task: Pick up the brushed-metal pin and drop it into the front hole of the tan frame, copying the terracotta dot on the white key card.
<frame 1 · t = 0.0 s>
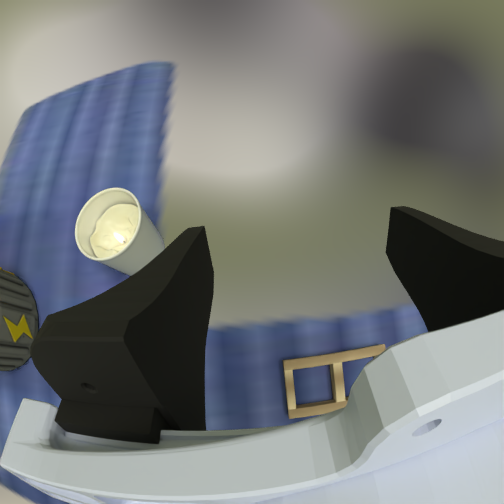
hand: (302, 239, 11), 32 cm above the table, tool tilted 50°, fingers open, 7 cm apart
candle holder: (141, 252, 47), on the table
decorative lamp: (11, 323, 44), on the table
tan frame: (335, 380, 39), on the table
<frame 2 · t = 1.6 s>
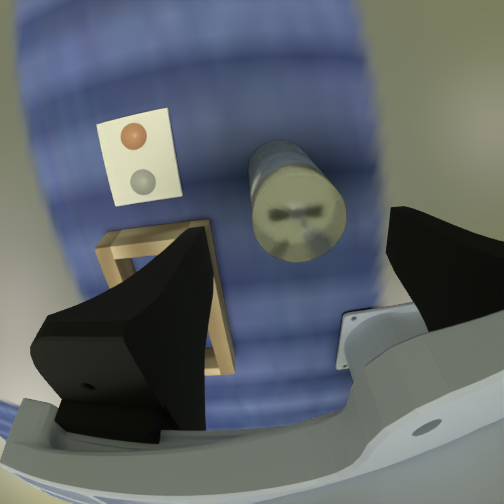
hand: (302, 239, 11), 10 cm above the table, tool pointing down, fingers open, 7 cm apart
key card: (139, 158, 19), on the table
tan frame: (176, 301, 25), on the table
pin: (278, 169, 20), on the table
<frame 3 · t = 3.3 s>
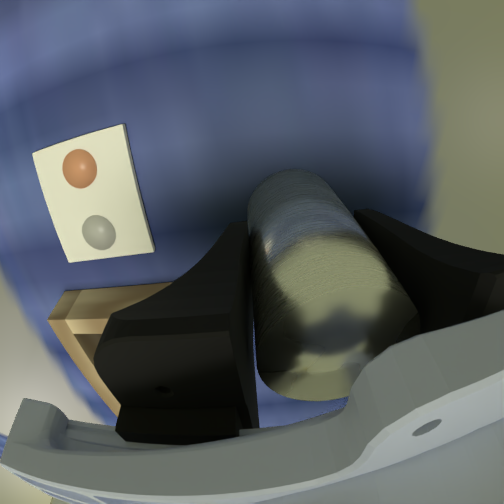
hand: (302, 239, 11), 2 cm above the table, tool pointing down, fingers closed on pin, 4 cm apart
key card: (91, 199, 13), on the table
tan frame: (160, 369, 19), on the table
pin: (292, 212, 13), on the table, touching gripper
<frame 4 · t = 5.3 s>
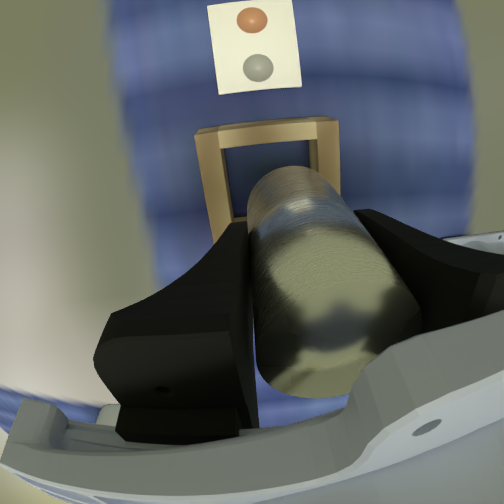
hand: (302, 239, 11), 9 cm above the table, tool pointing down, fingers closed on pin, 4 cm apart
candle holder: (128, 417, 36), on the table
key card: (254, 44, 15), on the table
tan frame: (273, 221, 21), on the table
pin: (292, 209, 13), point 7 cm above the table, touching gripper
when the fingers open (4 cm above the table, at t = 7.2 s): pin drops 1 cm, resting in tan frame.
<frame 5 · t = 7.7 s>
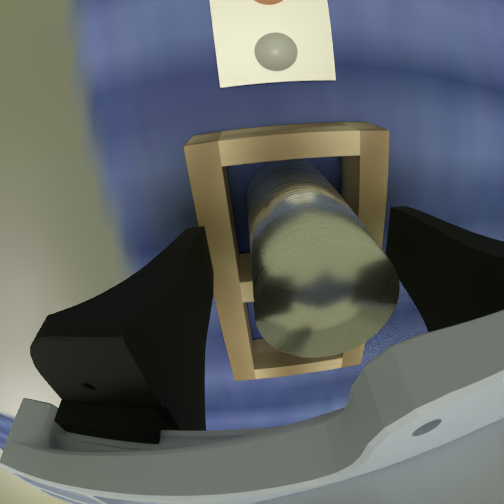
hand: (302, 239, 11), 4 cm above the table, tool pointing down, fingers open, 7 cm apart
key card: (271, 19, 10), on the table
tan frame: (291, 258, 16), on the table
pin: (288, 197, 15), resting in tan frame
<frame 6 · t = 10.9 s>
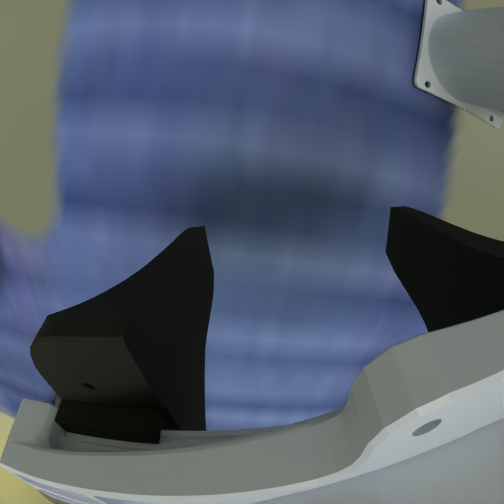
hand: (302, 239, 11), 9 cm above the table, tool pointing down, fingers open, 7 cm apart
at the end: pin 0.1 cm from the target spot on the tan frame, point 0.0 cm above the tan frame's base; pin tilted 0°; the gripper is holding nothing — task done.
